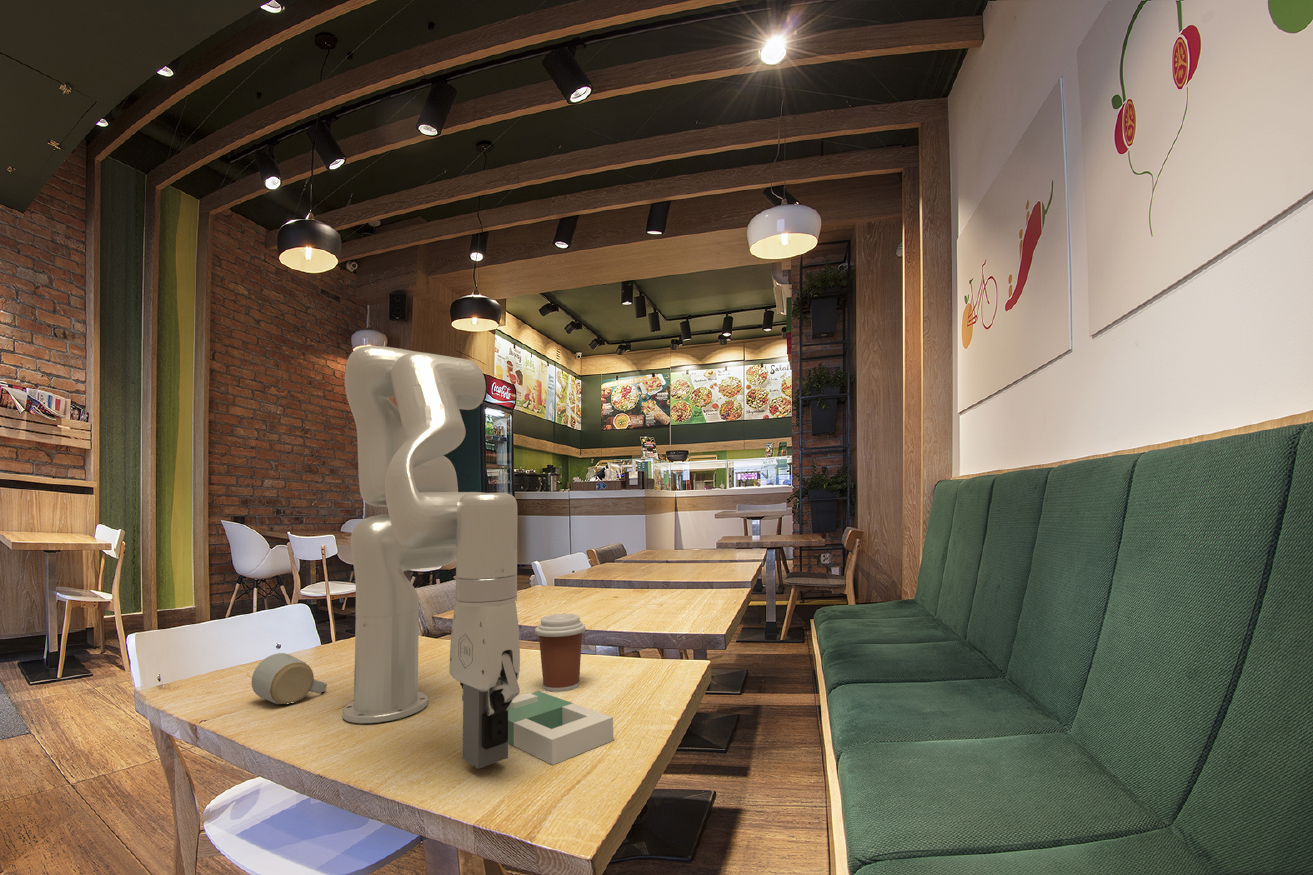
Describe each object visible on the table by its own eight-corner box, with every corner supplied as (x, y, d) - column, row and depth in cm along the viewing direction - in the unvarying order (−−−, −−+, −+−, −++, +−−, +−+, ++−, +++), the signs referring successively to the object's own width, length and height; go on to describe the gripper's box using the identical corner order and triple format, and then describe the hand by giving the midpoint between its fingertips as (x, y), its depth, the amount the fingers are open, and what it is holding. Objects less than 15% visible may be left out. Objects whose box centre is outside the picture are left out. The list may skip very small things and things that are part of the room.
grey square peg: (462, 758, 73) (463, 681, 74) (491, 748, 76) (492, 673, 77) (478, 768, 70) (479, 688, 71) (507, 757, 73) (508, 680, 74)
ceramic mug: (269, 712, 97) (272, 663, 98) (249, 703, 101) (252, 657, 102) (335, 695, 105) (337, 650, 106) (313, 688, 110) (315, 645, 111)
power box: (480, 729, 86) (480, 702, 86) (539, 710, 93) (538, 685, 93) (552, 764, 73) (551, 732, 73) (613, 740, 80) (612, 711, 80)
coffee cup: (553, 676, 111) (552, 611, 113) (595, 680, 108) (594, 613, 109) (525, 691, 103) (524, 621, 104) (570, 696, 99) (568, 623, 101)
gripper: (429, 587, 78) (426, 730, 76) (493, 601, 66) (492, 771, 65) (481, 580, 83) (480, 714, 82) (549, 593, 72) (549, 750, 70)
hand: (485, 738), depth 73 cm, fingers closed on grey square peg, 4 cm apart
